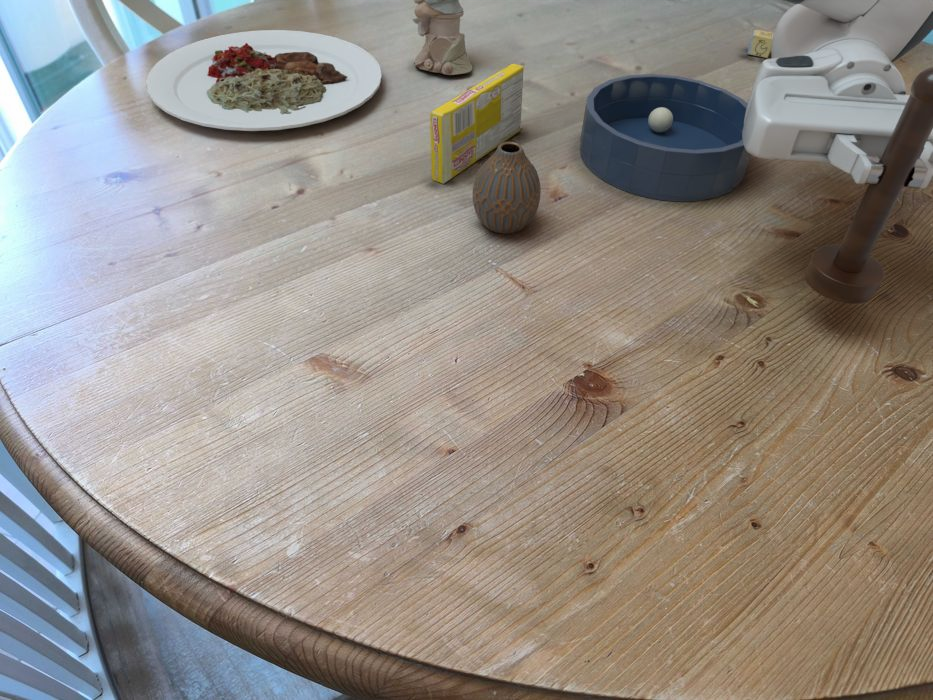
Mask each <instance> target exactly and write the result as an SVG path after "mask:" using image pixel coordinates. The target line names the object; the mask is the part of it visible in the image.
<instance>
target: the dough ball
mask: <svg viewBox="0 0 933 700" xmlns="http://www.w3.org/2000/svg"><path fill="white" fill-rule="evenodd" d="M672 123H673V115H672V113H671V111H670V110H669V109H667V108H664V107H659V108H656V109H654V110H653V111H652V112H651V113H650V115H649V118H648V124H649V126H650V128H651V129H652V130H653V131H655V132H659V133H661V132H665V131H667V130H668V129H669V128H670V127H671V125H672Z"/></svg>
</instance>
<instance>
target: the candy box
mask: <svg viewBox="0 0 933 700" xmlns="http://www.w3.org/2000/svg"><path fill="white" fill-rule="evenodd" d="M523 88H524V66H523V65H521V64H520V65H519V64H517V63H511V64H510V65H507V66H506V67H504V68H502V69H501V70H498V71H497V72H495V73H494V74H493V75H491V76H489V77H487V78H485V79H484V80H483V81H481V82H479V83H477V84H476V85H474V86H473V87H471V88H468V89H467V90H465V91H463V92H462V93H461V94H459V95H457V96H455V97H454V98H452V99H450V100H449V101H447V102H445V103H443V104H442V105H440V106H438V107H437V108H435V109H434V110H433V109H432V111H430V113H429V115H430V116H429V117H430V118H429V119H430V127H429V129H430V165H431V169H430V170H431V180H432V181H435V182H438V183H440V184H443V185H444V184H445V183H448V181H450V180H451V179H453V178H454V177H456V176H457V175H458V174H460V173H462V172H463V171H464V170H466V169H467V168H469V167H470V166H471V165H473V164H474V163H476V162H478V161H479V160H480V159H482V158H483V157H485V156H486V155H488V154H489V153H490V152H492V151H493V150H495V149H497V148H498V146H499V145H500V144H501V143H504V142H507V141H508V140H509V139H510V138H512V137H513V136H515V135H517V134H518V133H520V132H521V123H522V122H521V121H522V108H523V107H522V105H523Z"/></svg>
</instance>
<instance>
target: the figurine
mask: <svg viewBox="0 0 933 700" xmlns="http://www.w3.org/2000/svg"><path fill="white" fill-rule="evenodd" d="M413 1H414V3H415V4H417V5H416V6H415V8H414V15H415V16H414V17H413V18H412V21H413V23H414V24H416V25H417V32H418V33H417V34H418V35H419V36H420V37H425V41H424V44H423V46H422V49H421V50H420V51H419V53H418V54H417V55H416V56H415V58H414V61H413V65H414V67H416V68H418V69H419V70H423V71H427V72H431V73H434V74H440V75H447V76H455V75H463V74H464V75H465V74H468V73H470V72H472V70H473V65H472V64H471V62H470V59H469V56H468V53H467V47H466V40H465V36H466V35H465V34H464V33H462V32H461V33H460V30H461V29H460V28H461V18H462V17H463V16H464V14H465V13H464V8H463V6H462V5H461V3H460V1H459V0H413Z"/></svg>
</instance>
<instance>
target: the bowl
mask: <svg viewBox="0 0 933 700" xmlns="http://www.w3.org/2000/svg"><path fill="white" fill-rule="evenodd" d="M747 104H748V101H746V100H745V99H743V98H742V97H739V95H736V94H734V93H732V92H730V91H729V90H727V89H725V88H723V87H719V86H717V85H713V84H711V83H708V82H705V81H702V80H699V79H693V78H689V77H684V76H680V75H668V74H658V73H657V74H656V73H646V74H629V75H624V76H620V77H615V78H612V79H611V78H610V79H608V80H606V81H603V82H602V83H600V84H599V85H597V86H595V87H593V88H592V90H591V92H589V94H588V96H587V97H586V102H585V108H584V113H583V120H582V126H581V133H580V141H579V142H580V143H579V144H580V145H579V154H580V157H581V160H582V162H583V163H584V165H585V166H586V168H587V169H588V170H589V171H590V172H591V173H592V174H594V175H595V176H596V177H597V178H599V179H600V180H602V181H603V182H605V183H607V184H608V185H610V186H612V187H614V188H617V189H619V190H621V191H624V192H626V193H630V194H633V195H635V196H639V197H644V198H647V199H651V200H652V199H653V200H658V201H667V202H699V201H705V200H711V199H715V198H718V197H721V196H724V195H726V194H728V193H730V192H731V191H733V190H735V189H736V188H737V187H738V186H739V185H740V183H741V182H742V181H743V179H744V177H745V174H746V171H747V168H748V164H749V162H750V158H751V156H752V154H750V153H748V152H747V151H746V149H745V147H744V144H743V139H742V130H743V127H744V118H745V113H746V108H747ZM659 107H664V108H667V109H669V110H670V111H671V113H672V115H673V123H672V125H671V127H670V128H669V129H668V130H667V131H665V132H661V133H659V132H655V131H653V130H652V129H651V128H650V126H649V124H648V118H649V115H650V113H651V112H652V111H653V110H654V109H656V108H659Z"/></svg>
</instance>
